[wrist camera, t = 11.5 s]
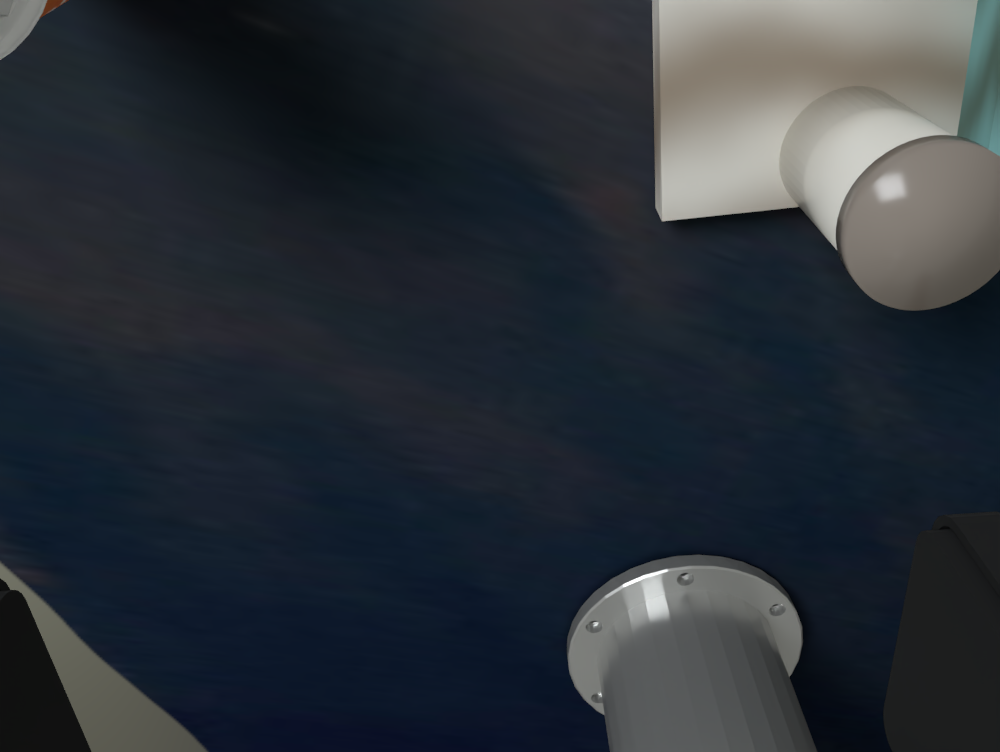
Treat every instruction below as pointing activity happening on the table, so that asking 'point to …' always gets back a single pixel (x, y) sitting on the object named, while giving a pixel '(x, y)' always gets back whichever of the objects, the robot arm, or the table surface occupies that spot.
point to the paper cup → (21, 20)
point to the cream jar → (895, 197)
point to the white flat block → (803, 84)
